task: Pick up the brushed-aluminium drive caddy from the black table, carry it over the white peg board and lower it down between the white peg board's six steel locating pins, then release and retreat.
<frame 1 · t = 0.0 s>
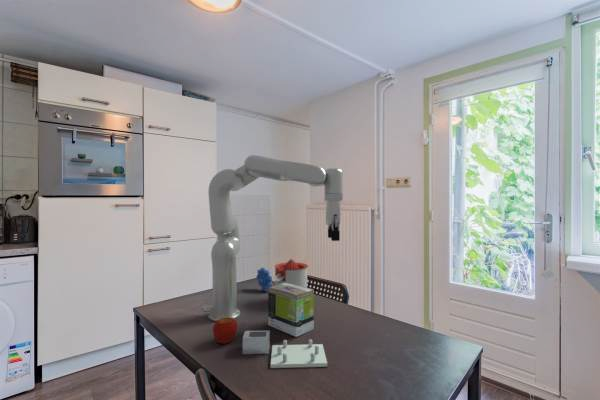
hand: (333, 239, 121), 31 cm above the table, fingers open, 9 cm apart
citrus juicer: (289, 302, 135), on the table
grapes: (262, 291, 152), on the table
drive: (256, 350, 92), on the table
apple: (225, 341, 97), on the table
white peg board: (298, 356, 87), on the table
tea box: (290, 327, 108), on the table
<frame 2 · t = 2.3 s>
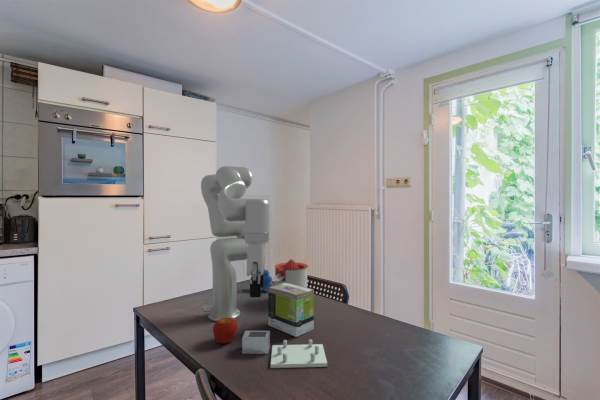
hand: (257, 292, 92), 18 cm above the table, fingers open, 9 cm apart
nothing on the table moved.
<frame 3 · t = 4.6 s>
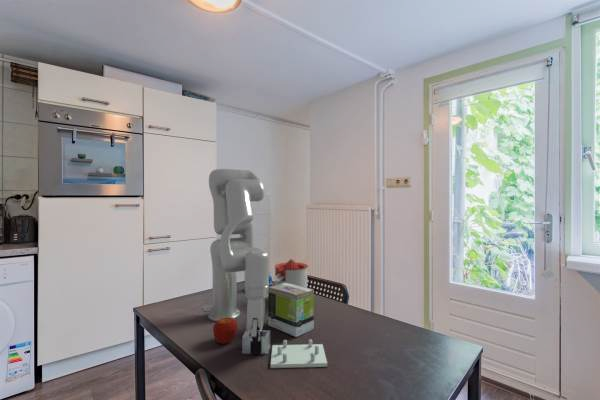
hand: (256, 347, 91), 1 cm above the table, fingers closed on drive, 5 cm apart
drive: (256, 349, 91), on the table, touching gripper
everything else where it was.
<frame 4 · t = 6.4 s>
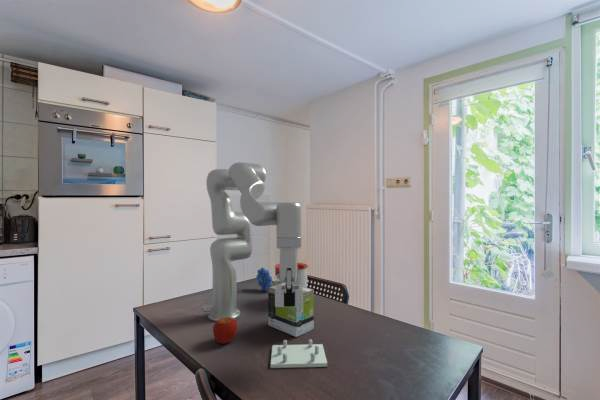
hand: (289, 302, 88), 16 cm above the table, fingers closed on drive, 5 cm apart
drive: (289, 304, 88), point 16 cm above the table, touching gripper
everything else where it was.
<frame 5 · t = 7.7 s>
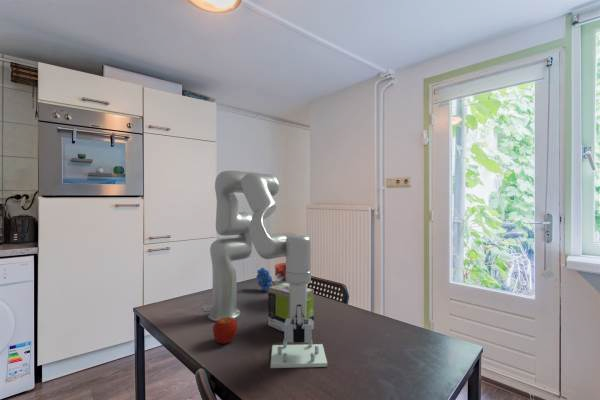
hand: (298, 336, 87), 6 cm above the table, fingers closed on drive, 5 cm apart
drive: (298, 338, 87), point 6 cm above the table, touching gripper
everything else where it was.
when the fingers open (4 cm above the table, at t = 8.5 s): drive drops 2 cm, resting on white peg board.
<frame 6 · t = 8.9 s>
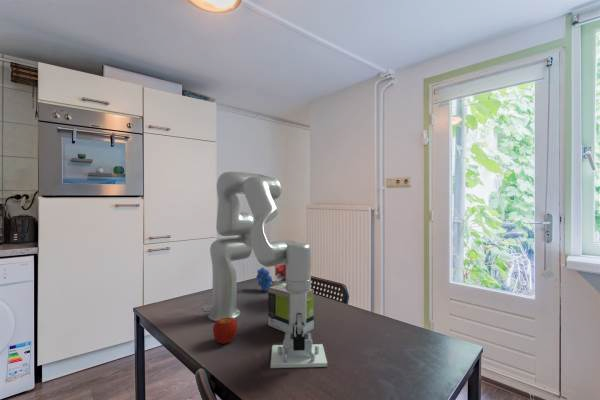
hand: (298, 341, 87), 5 cm above the table, fingers open, 9 cm apart
drive: (297, 353, 87), point 1 cm above the table, touching white peg board
everything else where it was.
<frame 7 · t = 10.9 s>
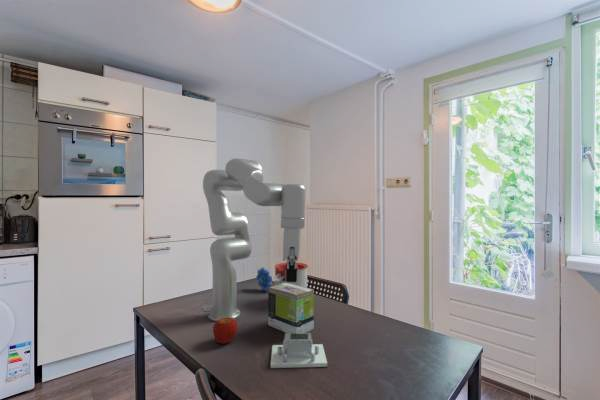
hand: (291, 277, 92), 23 cm above the table, fingers open, 9 cm apart
nothing on the table moved.
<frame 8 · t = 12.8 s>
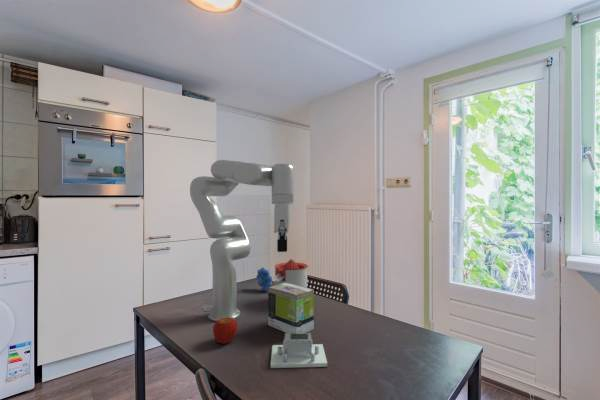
hand: (282, 249, 100), 30 cm above the table, fingers open, 9 cm apart
nothing on the table moved.
at the end: drive 0.2 cm off-centre on the white peg board, point 1.0 cm above the white peg board's base; drive tilted 0°; the gripper is holding nothing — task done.
